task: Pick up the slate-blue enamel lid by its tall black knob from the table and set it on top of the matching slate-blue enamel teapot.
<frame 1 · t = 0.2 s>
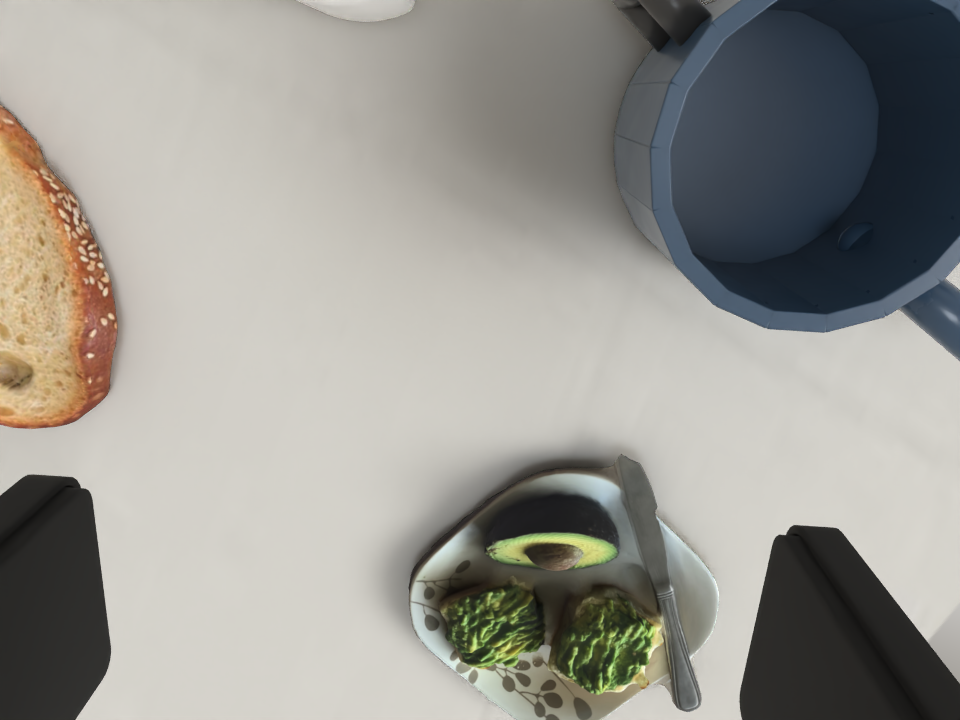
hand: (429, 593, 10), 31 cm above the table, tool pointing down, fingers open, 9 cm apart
teapot: (750, 142, 38), on the table
teapot spout and handle: (813, 173, 33), point 6 cm above the table
salad plate: (561, 582, 47), on the table
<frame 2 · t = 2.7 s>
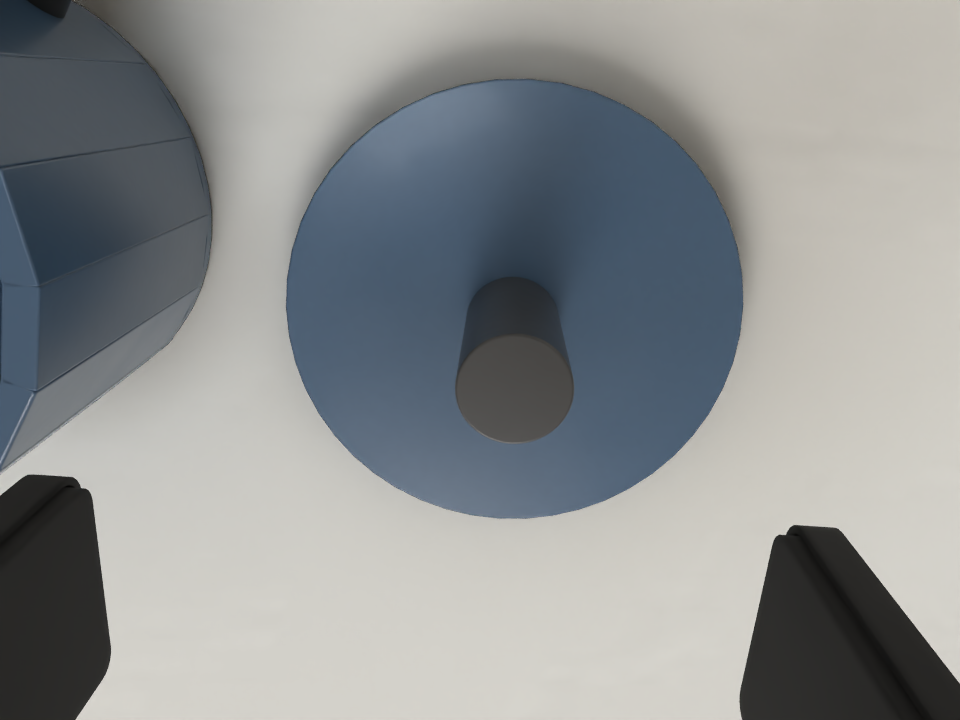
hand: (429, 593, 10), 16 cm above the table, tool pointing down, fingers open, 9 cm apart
teapot: (7, 199, 25), on the table
teapot lid: (512, 316, 25), point 1 cm above the table
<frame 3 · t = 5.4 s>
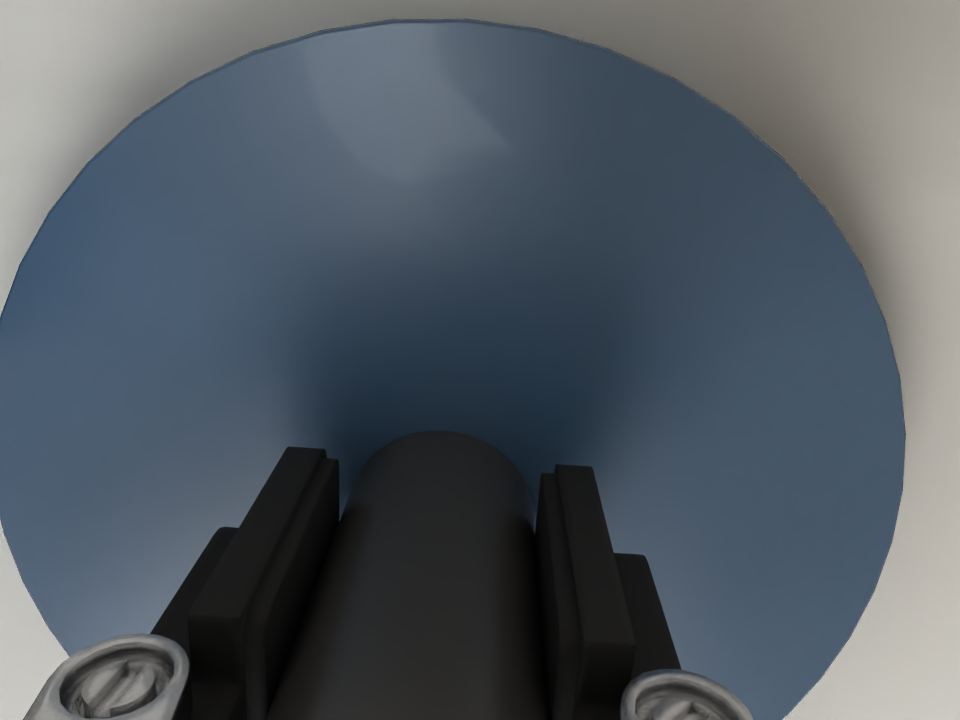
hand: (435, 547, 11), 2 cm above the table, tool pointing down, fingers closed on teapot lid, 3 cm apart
teapot lid: (443, 494, 13), point 1 cm above the table, touching gripper
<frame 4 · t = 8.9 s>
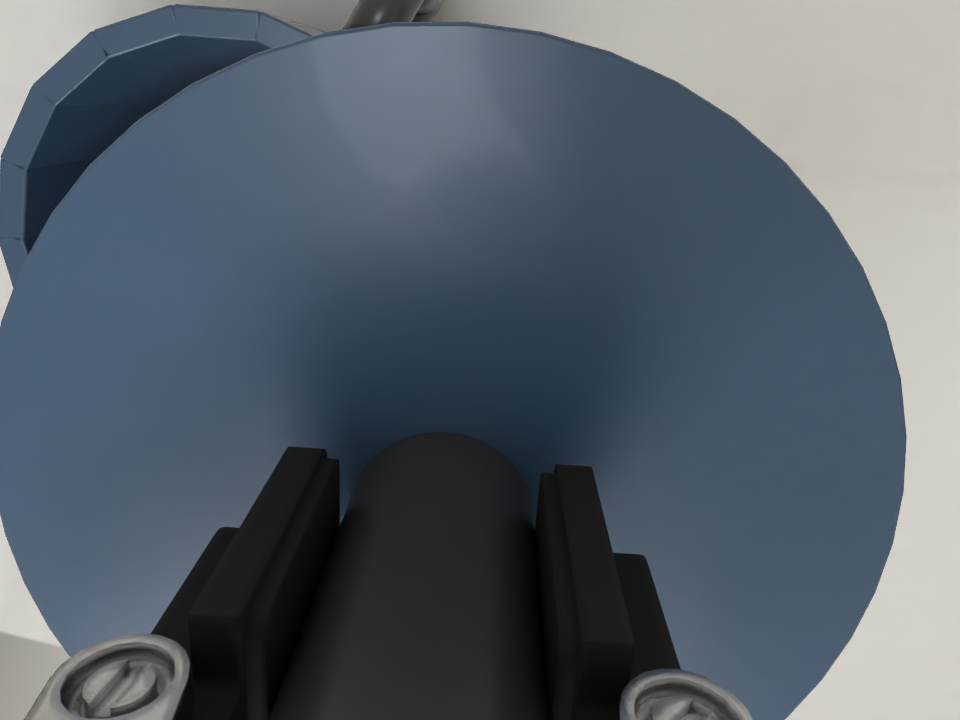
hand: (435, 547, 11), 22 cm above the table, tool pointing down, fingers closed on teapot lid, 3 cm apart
teapot: (306, 206, 32), on the table
teapot spout and handle: (247, 262, 27), point 6 cm above the table
teapot lid: (444, 496, 13), point 21 cm above the table, touching gripper
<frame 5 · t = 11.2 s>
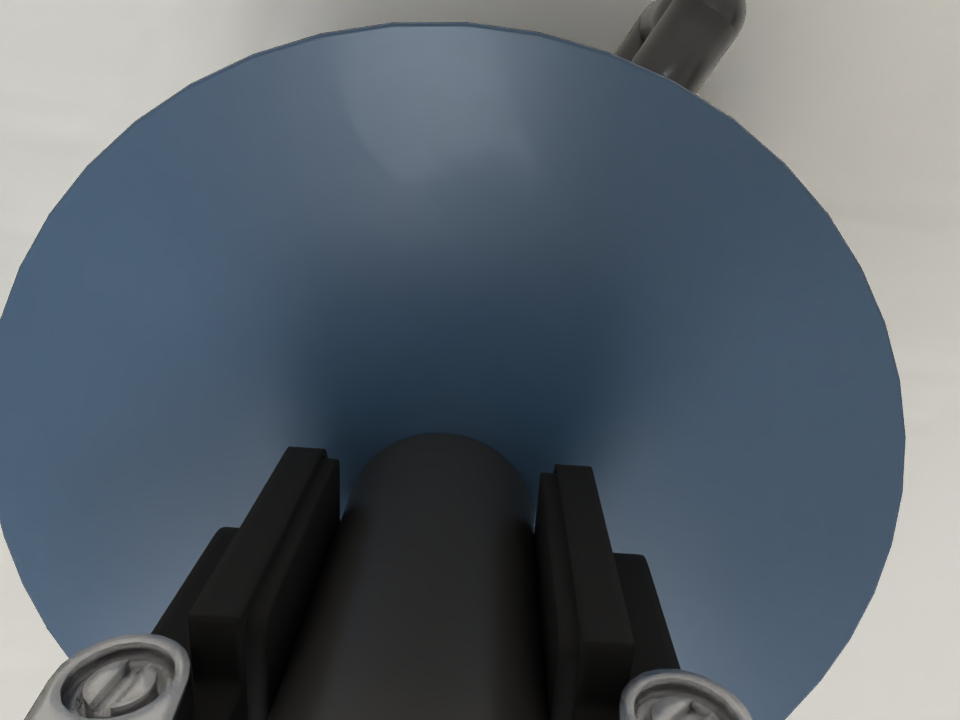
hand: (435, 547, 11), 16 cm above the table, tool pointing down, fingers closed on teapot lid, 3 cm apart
teapot spout and handle: (442, 380, 21), point 6 cm above the table
teapot lid: (443, 496, 13), point 14 cm above the table, touching gripper
when the fingers open (12 cm above the table, at t = 12.5 s): teapot lid stays where it is, resting on teapot.
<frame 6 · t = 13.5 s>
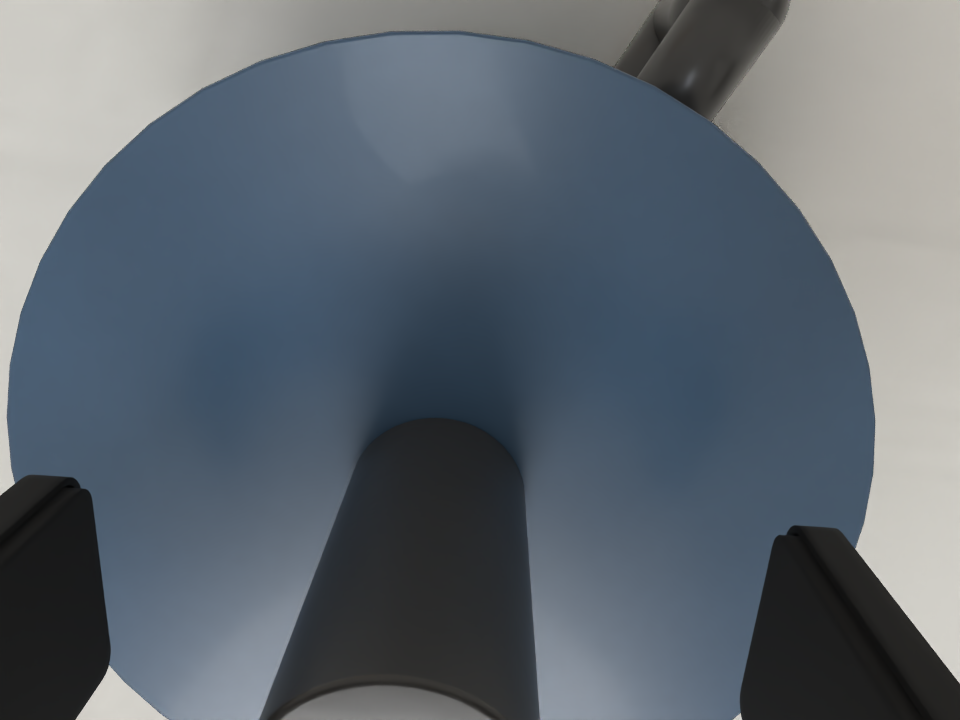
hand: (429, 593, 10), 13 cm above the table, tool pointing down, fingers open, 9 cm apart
teapot spout and handle: (423, 436, 18), point 6 cm above the table
teapot lid: (440, 479, 14), point 10 cm above the table, touching teapot
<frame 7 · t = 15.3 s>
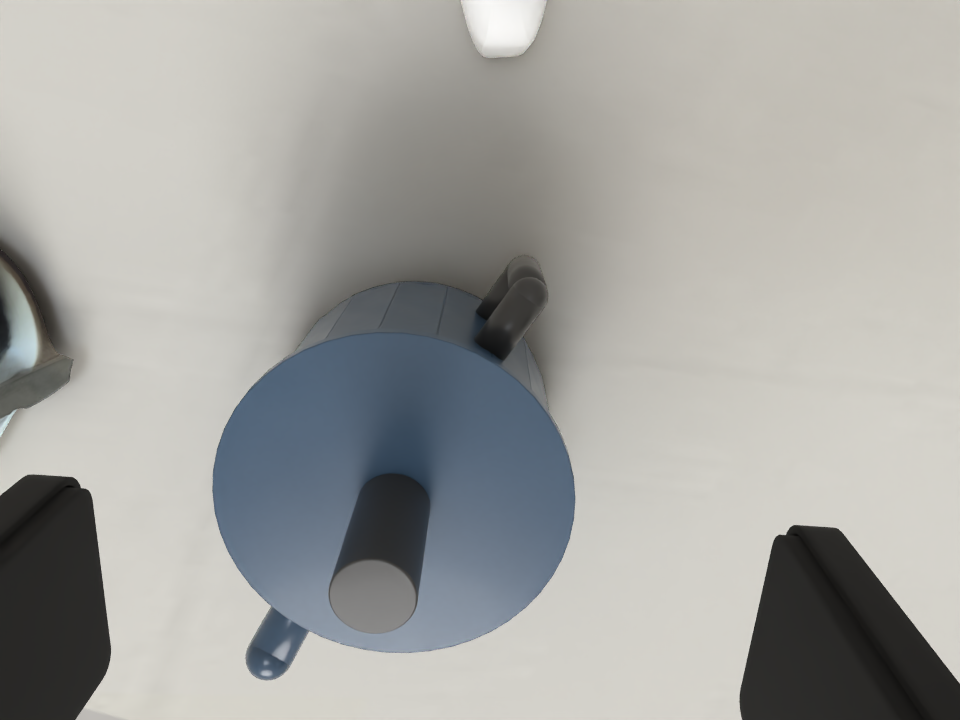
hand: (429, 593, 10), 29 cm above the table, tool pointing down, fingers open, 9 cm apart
teapot: (417, 404, 41), on the table
teapot spout and handle: (390, 474, 36), point 6 cm above the table
teapot lid: (395, 498, 32), point 10 cm above the table, touching teapot
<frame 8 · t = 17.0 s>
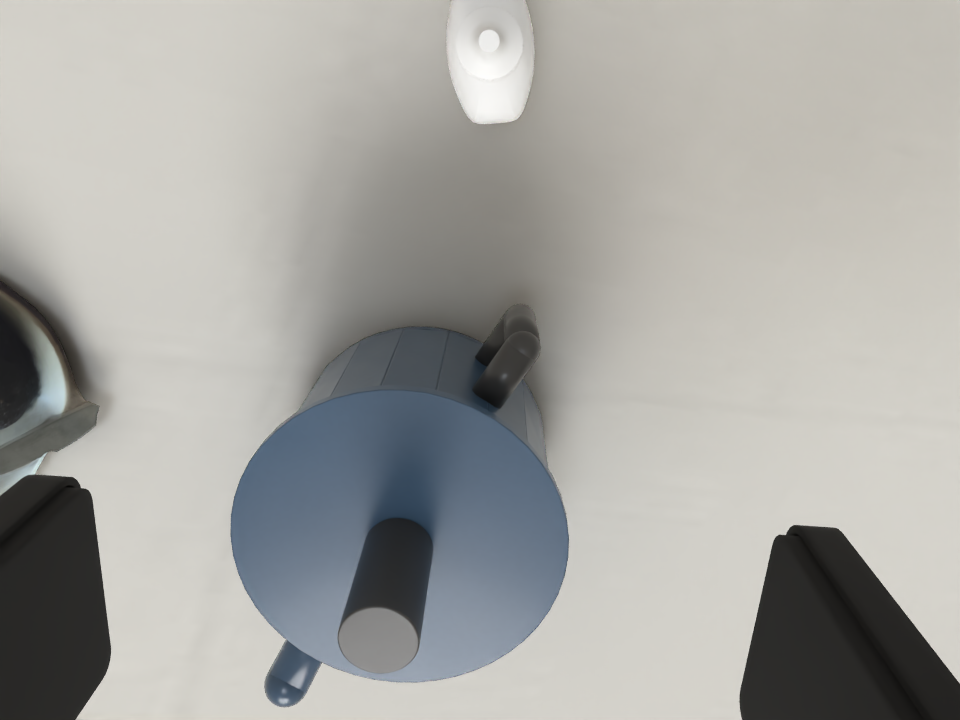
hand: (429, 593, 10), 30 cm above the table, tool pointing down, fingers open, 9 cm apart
teapot: (422, 440, 43), on the table
teapot spout and handle: (397, 512, 38), point 6 cm above the table
teapot lid: (400, 539, 34), point 10 cm above the table, touching teapot
eye dropper bottle: (492, 57, 36), on the table
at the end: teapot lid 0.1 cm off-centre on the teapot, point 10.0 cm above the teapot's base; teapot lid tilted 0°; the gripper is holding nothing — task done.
